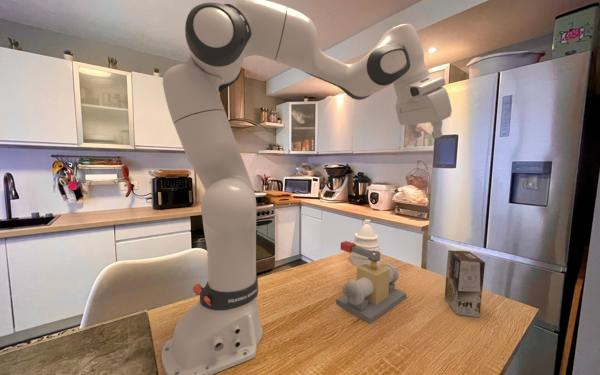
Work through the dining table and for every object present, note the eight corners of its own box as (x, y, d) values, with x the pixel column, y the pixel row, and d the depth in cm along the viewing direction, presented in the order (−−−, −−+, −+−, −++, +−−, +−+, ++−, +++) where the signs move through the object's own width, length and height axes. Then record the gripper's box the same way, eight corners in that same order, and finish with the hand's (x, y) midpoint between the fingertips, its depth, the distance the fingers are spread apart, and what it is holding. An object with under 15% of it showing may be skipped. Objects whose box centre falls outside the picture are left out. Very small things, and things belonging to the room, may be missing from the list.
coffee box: (480, 318, 68) (486, 262, 66) (455, 314, 69) (460, 260, 68) (465, 300, 77) (470, 250, 75) (443, 297, 78) (447, 249, 77)
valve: (370, 323, 65) (372, 276, 64) (336, 303, 74) (337, 261, 73) (406, 297, 78) (408, 257, 76) (373, 283, 87) (374, 247, 86)
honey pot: (353, 254, 114) (354, 216, 112) (382, 258, 109) (384, 219, 107) (347, 264, 102) (348, 222, 101) (379, 270, 97) (381, 226, 96)
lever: (382, 259, 74) (382, 252, 74) (375, 262, 72) (376, 255, 72) (346, 247, 85) (346, 240, 84) (339, 249, 82) (340, 242, 82)
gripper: (386, 99, 76) (399, 141, 79) (424, 86, 56) (439, 142, 59) (405, 91, 76) (417, 133, 79) (449, 75, 56) (463, 132, 59)
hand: (427, 137), depth 69 cm, fingers open, 8 cm apart
